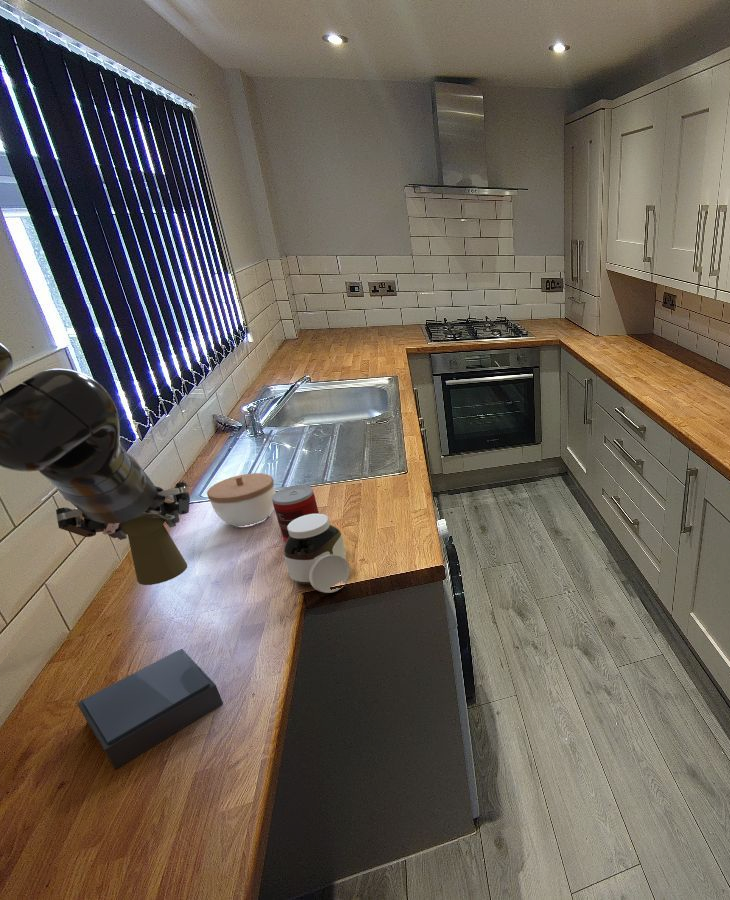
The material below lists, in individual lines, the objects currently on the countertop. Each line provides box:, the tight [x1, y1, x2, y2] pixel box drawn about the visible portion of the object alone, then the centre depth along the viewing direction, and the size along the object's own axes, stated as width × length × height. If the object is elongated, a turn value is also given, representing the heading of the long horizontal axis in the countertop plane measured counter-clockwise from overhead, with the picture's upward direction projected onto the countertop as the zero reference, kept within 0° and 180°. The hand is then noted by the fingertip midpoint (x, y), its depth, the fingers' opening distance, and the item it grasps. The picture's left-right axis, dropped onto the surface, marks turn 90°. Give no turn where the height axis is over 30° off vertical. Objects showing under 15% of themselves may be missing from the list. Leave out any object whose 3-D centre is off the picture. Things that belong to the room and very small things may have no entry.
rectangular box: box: [76, 648, 224, 771], centre depth 72 cm, size 12×12×4 cm
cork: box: [119, 517, 188, 586], centre depth 77 cm, size 6×6×11 cm
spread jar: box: [283, 513, 351, 594], centre depth 98 cm, size 12×11×12 cm
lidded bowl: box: [206, 472, 277, 527], centre depth 119 cm, size 13×13×11 cm
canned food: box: [272, 484, 320, 544], centre depth 112 cm, size 8×8×11 cm
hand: (147, 526), depth 78 cm, fingers closed on cork, 5 cm apart
